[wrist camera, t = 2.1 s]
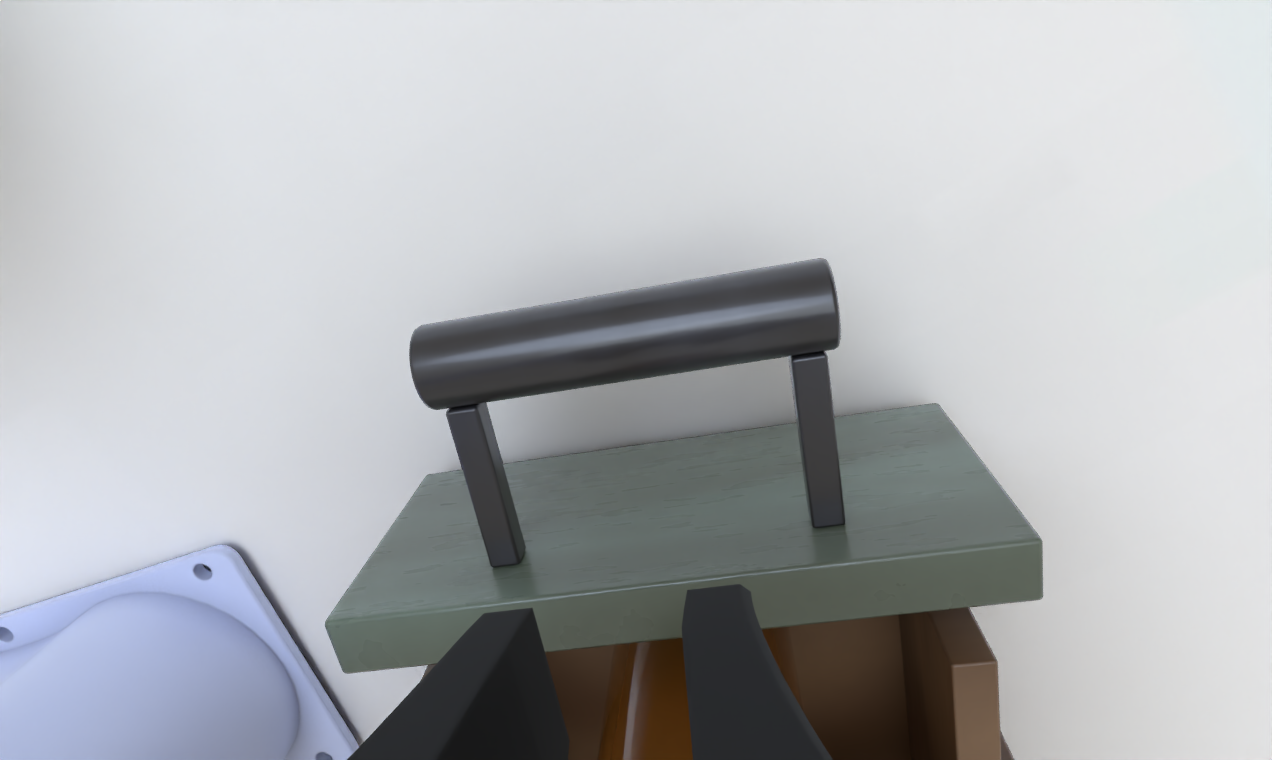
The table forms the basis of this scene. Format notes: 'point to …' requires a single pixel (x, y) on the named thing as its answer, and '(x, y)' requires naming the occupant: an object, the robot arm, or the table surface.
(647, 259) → the table surface
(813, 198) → the table surface
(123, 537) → the table surface
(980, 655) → the rack drawer
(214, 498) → the table surface
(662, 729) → the glass bottle
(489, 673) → the robot arm
